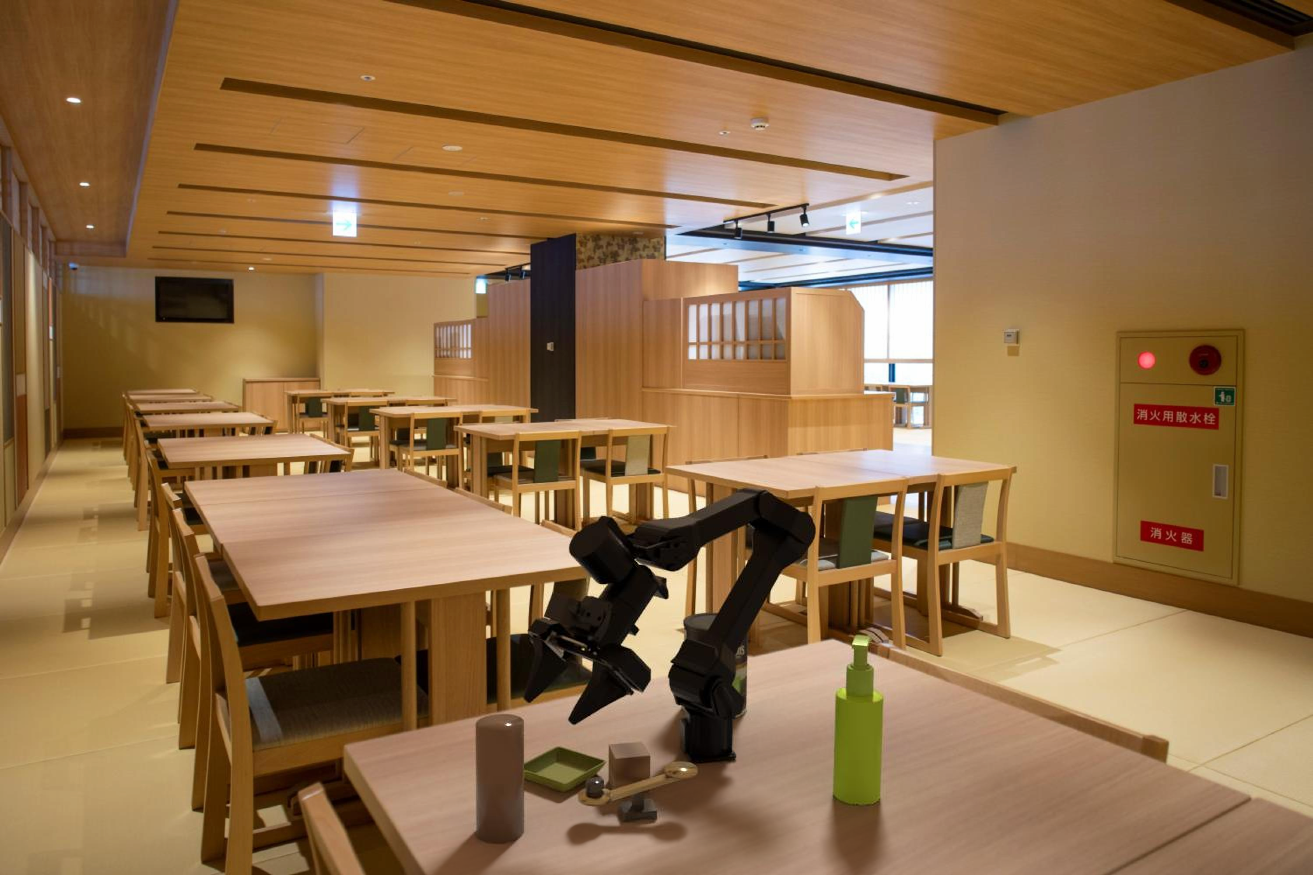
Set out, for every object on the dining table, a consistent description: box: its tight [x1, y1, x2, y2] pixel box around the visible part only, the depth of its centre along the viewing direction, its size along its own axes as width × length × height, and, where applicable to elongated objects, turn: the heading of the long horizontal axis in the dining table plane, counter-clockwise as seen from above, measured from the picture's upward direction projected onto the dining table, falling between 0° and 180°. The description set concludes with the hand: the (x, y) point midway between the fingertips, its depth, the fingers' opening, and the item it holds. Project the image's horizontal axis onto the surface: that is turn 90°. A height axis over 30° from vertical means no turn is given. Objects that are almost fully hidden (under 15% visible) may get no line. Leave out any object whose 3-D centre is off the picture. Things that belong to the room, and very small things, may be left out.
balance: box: [577, 760, 698, 823], centre depth 115 cm, size 15×4×5 cm, turn 104°
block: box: [607, 741, 651, 795], centre depth 122 cm, size 4×4×5 cm
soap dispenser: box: [832, 634, 884, 806], centre depth 120 cm, size 6×7×20 cm
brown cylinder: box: [475, 713, 525, 845], centre depth 110 cm, size 6×6×13 cm
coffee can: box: [681, 612, 749, 719], centre depth 149 cm, size 10×10×14 cm
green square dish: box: [524, 745, 607, 793], centre depth 125 cm, size 9×9×2 cm
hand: (547, 711), depth 114 cm, fingers open, 9 cm apart
